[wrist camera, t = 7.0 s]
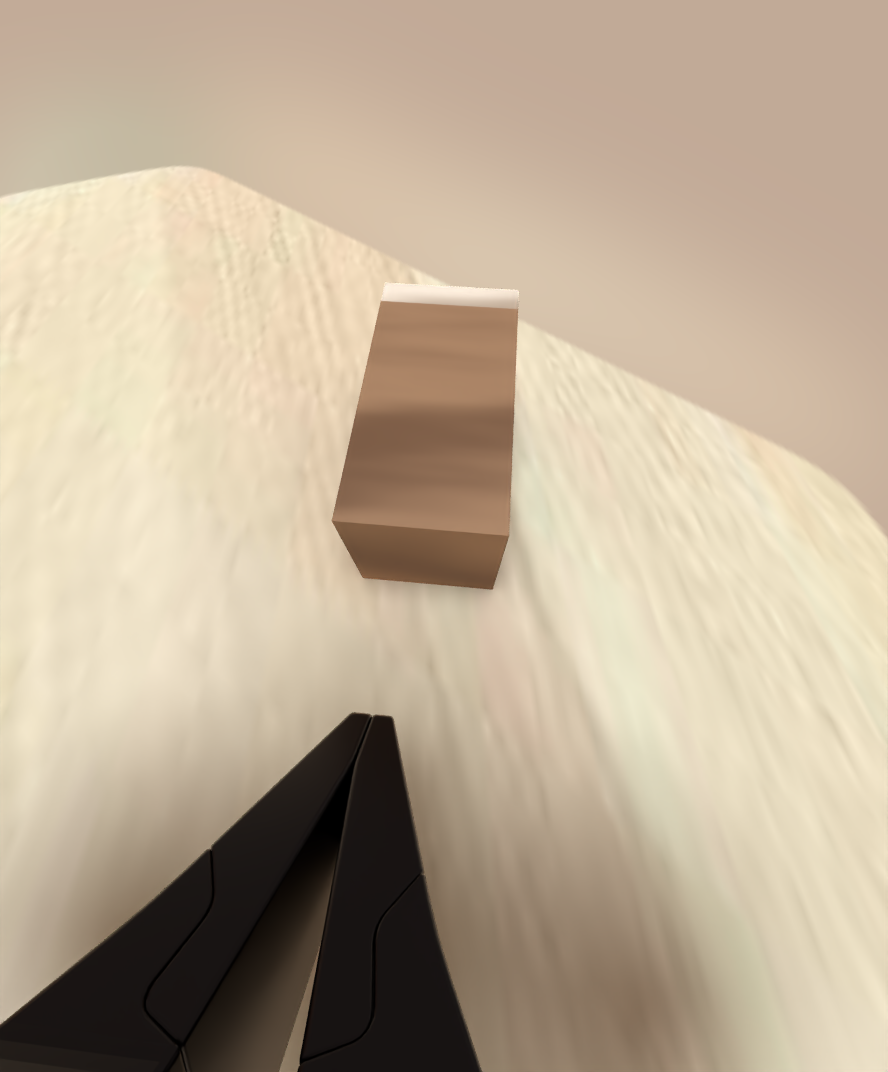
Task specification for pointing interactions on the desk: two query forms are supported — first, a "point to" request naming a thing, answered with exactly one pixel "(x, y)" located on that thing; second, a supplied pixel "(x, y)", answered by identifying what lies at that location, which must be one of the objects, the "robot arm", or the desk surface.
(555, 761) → the desk surface
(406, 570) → the beige tall block
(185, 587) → the desk surface
